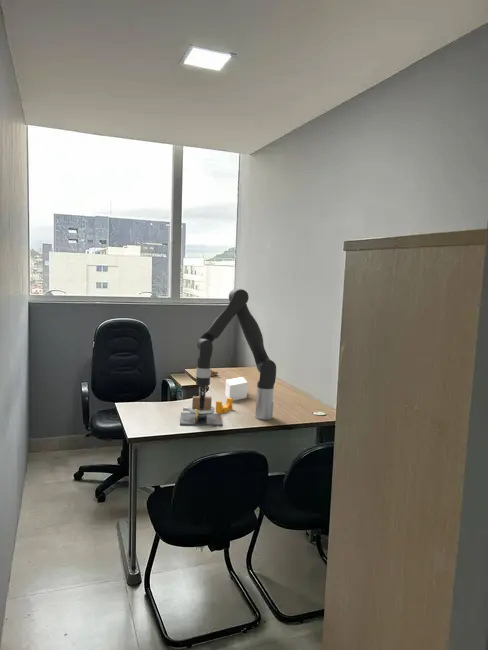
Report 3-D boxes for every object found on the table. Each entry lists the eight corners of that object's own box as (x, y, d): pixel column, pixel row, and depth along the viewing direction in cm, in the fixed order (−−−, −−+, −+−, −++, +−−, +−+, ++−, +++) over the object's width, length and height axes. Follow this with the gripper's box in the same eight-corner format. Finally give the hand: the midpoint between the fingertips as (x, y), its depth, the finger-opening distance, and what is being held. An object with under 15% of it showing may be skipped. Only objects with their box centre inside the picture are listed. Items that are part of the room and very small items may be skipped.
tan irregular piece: (193, 374, 380) (194, 355, 379) (202, 372, 391) (203, 353, 389) (210, 377, 373) (211, 358, 371) (218, 375, 383) (219, 356, 382)
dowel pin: (197, 422, 258) (198, 409, 257) (197, 423, 256) (198, 410, 256) (194, 422, 258) (195, 409, 257) (194, 423, 256) (195, 409, 256)
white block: (252, 393, 333) (252, 378, 332) (240, 403, 306) (241, 386, 304) (231, 390, 337) (232, 375, 336) (218, 400, 309) (219, 384, 308)
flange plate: (214, 407, 273) (214, 394, 272) (215, 415, 259) (215, 401, 258) (183, 406, 271) (184, 393, 270) (182, 414, 257) (183, 400, 256)
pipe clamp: (221, 414, 280) (222, 402, 279) (215, 412, 282) (216, 401, 282) (234, 410, 289) (235, 399, 289) (228, 408, 292) (229, 397, 291)
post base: (220, 415, 277) (221, 407, 276) (222, 426, 257) (222, 417, 256) (181, 414, 274) (181, 405, 274) (179, 425, 255) (180, 416, 254)
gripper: (210, 379, 256) (208, 411, 258) (209, 373, 271) (208, 404, 272) (196, 378, 256) (194, 410, 257) (196, 372, 270) (194, 403, 272)
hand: (201, 407), depth 265 cm, fingers closed on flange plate, 4 cm apart
